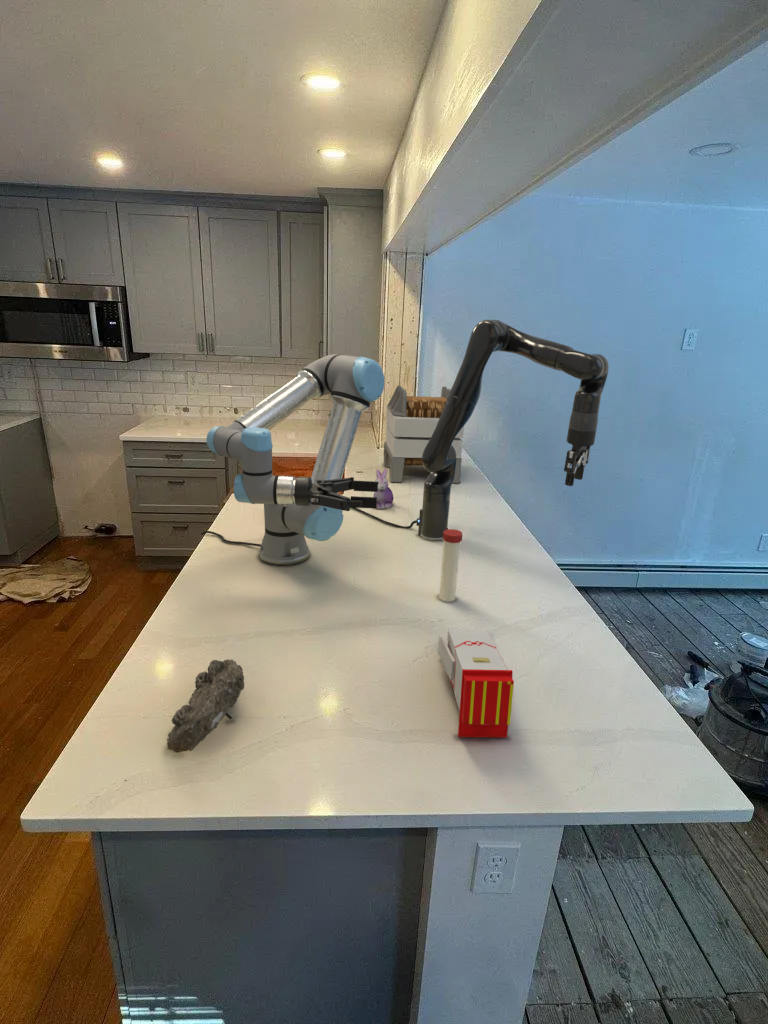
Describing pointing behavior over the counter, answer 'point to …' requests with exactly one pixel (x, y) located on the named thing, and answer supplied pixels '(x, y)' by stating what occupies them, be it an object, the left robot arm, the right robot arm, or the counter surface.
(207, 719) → the fossil
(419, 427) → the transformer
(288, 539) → the left robot arm
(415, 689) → the counter surface
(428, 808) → the counter surface
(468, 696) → the toy
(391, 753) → the counter surface
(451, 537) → the lid
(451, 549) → the jar
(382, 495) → the figurine
